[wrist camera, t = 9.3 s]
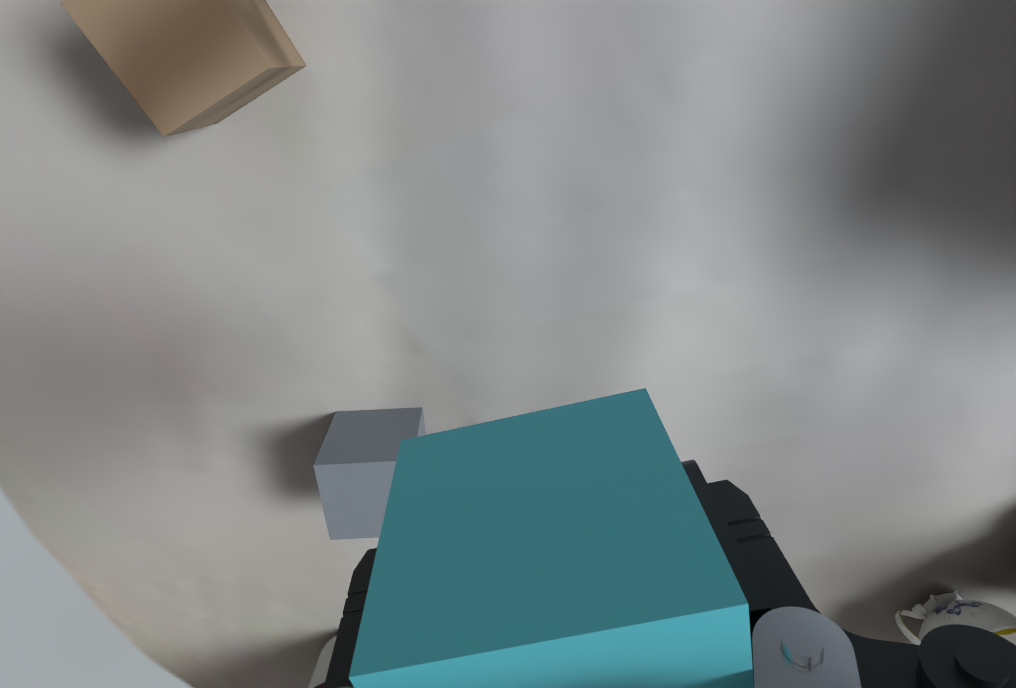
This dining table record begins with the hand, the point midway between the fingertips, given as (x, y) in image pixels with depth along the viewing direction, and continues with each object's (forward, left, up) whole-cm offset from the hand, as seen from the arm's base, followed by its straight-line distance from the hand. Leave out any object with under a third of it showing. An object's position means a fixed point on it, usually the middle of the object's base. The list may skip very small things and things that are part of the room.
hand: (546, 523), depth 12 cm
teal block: (0, 0, 0) cm, 0 cm away
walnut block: (-12, -10, -19) cm, 25 cm away
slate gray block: (+10, -10, -19) cm, 24 cm away
